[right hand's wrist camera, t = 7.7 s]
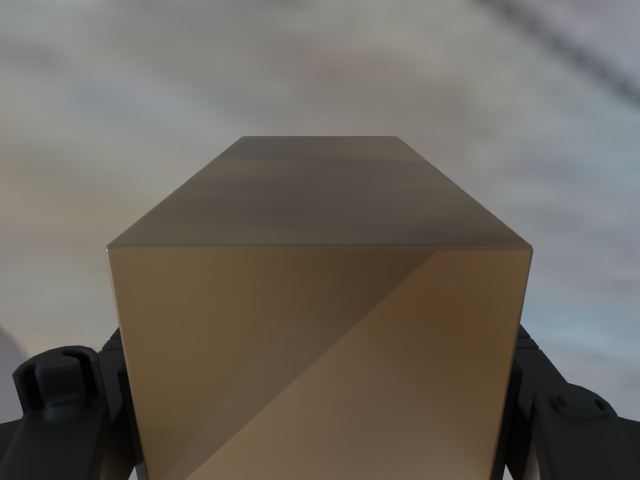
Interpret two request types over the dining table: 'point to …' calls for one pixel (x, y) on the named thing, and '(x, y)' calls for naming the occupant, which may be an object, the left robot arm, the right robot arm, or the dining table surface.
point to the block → (319, 317)
